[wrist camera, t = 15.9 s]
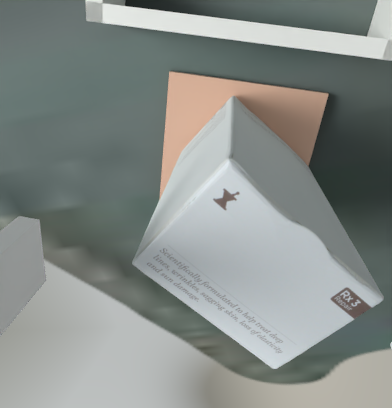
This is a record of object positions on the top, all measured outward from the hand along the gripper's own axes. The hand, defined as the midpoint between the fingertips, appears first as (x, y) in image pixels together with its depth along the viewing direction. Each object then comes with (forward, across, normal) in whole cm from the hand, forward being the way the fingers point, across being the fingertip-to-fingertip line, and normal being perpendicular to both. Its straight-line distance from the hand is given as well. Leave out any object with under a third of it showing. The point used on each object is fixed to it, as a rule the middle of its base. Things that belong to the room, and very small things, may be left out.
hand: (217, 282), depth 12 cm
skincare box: (+16, +1, 0) cm, 16 cm away
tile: (+16, 0, -1) cm, 16 cm away
